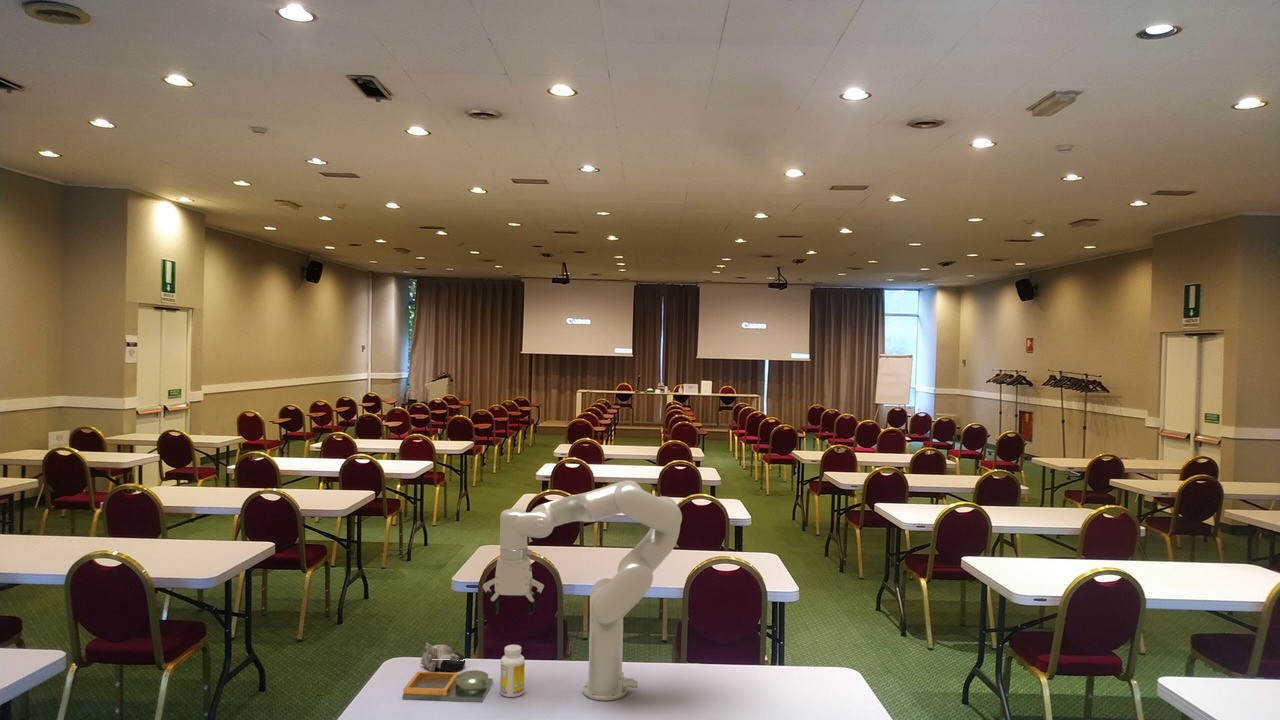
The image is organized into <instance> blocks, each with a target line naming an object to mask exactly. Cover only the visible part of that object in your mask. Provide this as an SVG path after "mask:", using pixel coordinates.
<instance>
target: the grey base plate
mask: <svg viewBox="0 0 1280 720" xmlns="http://www.w3.org/2000/svg"><path fill="white" fill-rule="evenodd" d="M493 683H494V678H489V674H488V672H486V671H484V670H483V671H482V670H475V669H474V670H466V671H463V672H460V673H459V672H449V671H448V672H446V671H444V672H442V671H434V672H431V671H416V673H415V674H414V675H413V677H412V678H411V679H410V680H409V681H408V683H407V684H406V685H405V686H404V687H403V694H402V700H405V701H406V700H410V701H411V700H412V701H432V702H433V701H438V702H439V701H440V702H461V703H462V702H464V703H465V702H466V703H468V702H470V703H483V701H484V700H483V699H485V698H486V696H487V694H488V692H489V691H488V690H490V689H491V687H492V684H493ZM484 697H485V698H484Z"/></svg>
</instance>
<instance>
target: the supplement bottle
mask: <svg viewBox="0 0 1280 720" xmlns="http://www.w3.org/2000/svg"><path fill="white" fill-rule="evenodd" d="M503 653H504V655H503V656H502V657H501V659H500V684H499V685H500V686H499V687H500V694H501V695H502V696H503V697H504V698H517V697H519V696H521V695H523V694H524V692H525V669H526V668H525V663H526V661H525V657H524V655H522V654H521V653H522V646H521V645H519V644H508V645H506V646H505V647H504V652H503Z"/></svg>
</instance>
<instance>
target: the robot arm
mask: <svg viewBox="0 0 1280 720" xmlns="http://www.w3.org/2000/svg"><path fill="white" fill-rule="evenodd" d="M620 514H622V515H625V516H627V517H628V518H630V519H632V520H634V521H636V522H638V523H640V524H642V525H644V526H646V527H648V528H649V530H648V531H647V533H646V534H645V536H644V537H643V538H642V539H641V540H640V541H639V542H638V543H637V544H636V545H635V546H634V547H633V548H632V549H631V550H630V551H629V552H628V553H627V554H626V555H625V556H624V557H623V558H622V559H621V560H620V562H619V563H618V565H617V573H616V574H615V575H614V577H612V578H602V579H599V580H597V581H596V582H595V583H594V584H593V586H592V587H591V589H590V593H589V637H588V641H589V642H588V644H589V645H588V647H589V650H588V651H589V652H588V681H587V682H586V683H584V685H583V686H582V693H583V694H584V695H585V696H586V697H587V698H590V699H592V700H595V701H602V702H603V701H606V702H607V701H615V700H619V699H621V698H623V697H624V696H625V695H627V693H628V688H631V689H638V683H639V682H638V680H635V678H633V677H626V676H624V672H623V647H624V644H623V643H624V642H623V641H624V638H623V637H624V617H625V616H626V615H627V614H628V613H629V612H630V611H631V610H632V609H633V608H634V607H635V606H636V605H637V604H638V603H639V602H640V601H641V600H642V598H644V596H645V595H646V594H648V592H649V590H650V588H651V586H652V585H653V582H654V580H653V579H654V575H653V573H654V572H655V571H656V569H657V568H658V567H660V566H661V564H662V563H663V562H664V560H665V559H666V558H667V557H668V556H669V555H670V554H671V553H672V551H673V550H674V548H675V546H676V544H677V542H678V539H679V535H680V531H681V524H682V521H683V514H682V511H681V509H680V507H679V506H678V504H677V503H676V501H674V499H672V498H671V497H670V496H664V495H663V496H662V495H661V496H659V497H658V496H656V495H654V494H652V493H650V492H648V491H646V490H644V489H643V488H642V487H641V486H640V484H639V483H637V482H636V481H634V480H629V479H628V480H627V479H626V480H623V481H619V482H616V483H613V484H609V485H607V486H606V485H605V486H603V487H600V488H596V489H593V490H590V491H586V492H582V493H577V494H574V495H569V496H564V497H561V498H558V499H554V500H552V501H548V502H545V503H541V504H538V505H536V507H535V506H534V507H533V509H532V510H531V511H530V512H526V510H525V509H521V508H508V509H504V510H503V511H502V512H501V513H500V519H499V520H500V521H499V524H500V525H499V527H500V529H499V530H500V531H499V534H500V535H499V537H500V538H499V542H500V543H499V557H498V558H497V562H496V567H495V574H494V575H495V577H494V578H492V579H490V580H488V581H486V582H485V583H483V585H482V589H483V590H484V592H485V594H486V596H487V598H489V599H490V601H491V612H493V616H495V617H496V616H498V614H499V609H500V600H499V596H525V597H526V598H527V599H528V602H527V616H528V617H531V616H532V614H533V613H535V600H536V599H537V598H538V597H540V596H541V593H542V591H543V589H544V588H545V584H543V583H541V582H540V581H537V580H535V579H534V578H533V572H532V561H531V557H529V556H532V555H533V550H532V549H529V548H528V537H529V538H535V539H542V538H546V537H548V536H549V535H551V534H552V532H553V530H554V528H555V527H558V526H562V525H564V524H569V523H572V522H585V523H594V522H598V521H601V520H604V519H607V518H610V517H613V516H616V515H620ZM493 585H494V592H493V590H492V589H490V587H491V586H493ZM533 587H536V588H537V590H536V591H535V592H533V591H532V590H533Z"/></svg>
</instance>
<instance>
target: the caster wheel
mask: <svg viewBox="0 0 1280 720" xmlns="http://www.w3.org/2000/svg"><path fill="white" fill-rule="evenodd" d="M432 659H450V660H432ZM463 659H466V657H465V656H464V655H463V654H461V653H460V652H459V653H458V652H456V651H454V650H453V649H452V646H449V645H447V644H443V643H442V644H435V645H431V644H430V643H428V642H425V646H424V650H423V653H422V656H421V660H420V664H421V665H422V666H423V667H424V668H426V669H427V670H428V671H429V672H435V669H436V668H438V669H441V670H444V671H448V672H461V671H462V670H463V669H464V668H465V665H466V661H465V660H464V661H460V660H463ZM457 660H458V661H457ZM460 670H461V671H460Z"/></svg>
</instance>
